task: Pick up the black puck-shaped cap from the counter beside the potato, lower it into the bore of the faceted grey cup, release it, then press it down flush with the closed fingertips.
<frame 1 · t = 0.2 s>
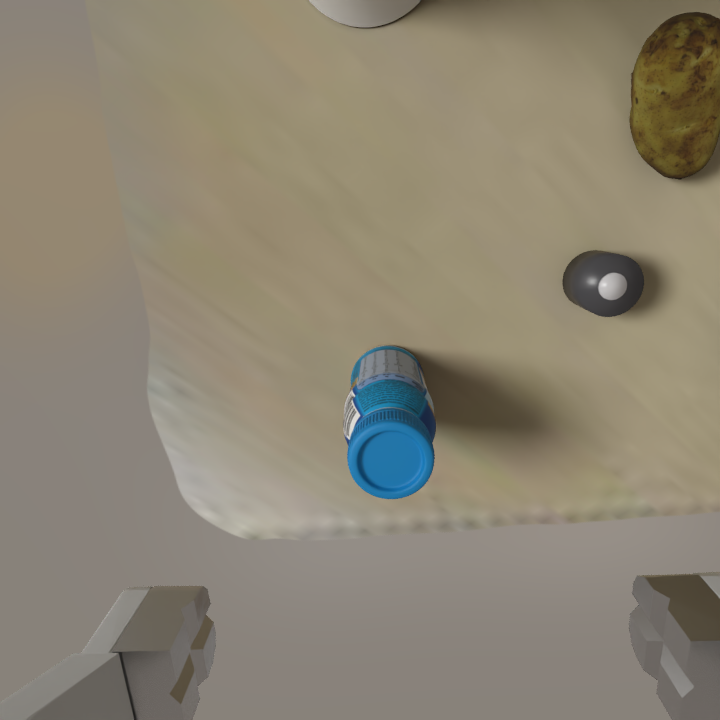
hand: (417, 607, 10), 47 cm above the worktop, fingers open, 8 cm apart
potato: (654, 110, 50), on the worktop
beverage bottle: (387, 378, 59), on the worktop
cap: (591, 279, 55), on the worktop
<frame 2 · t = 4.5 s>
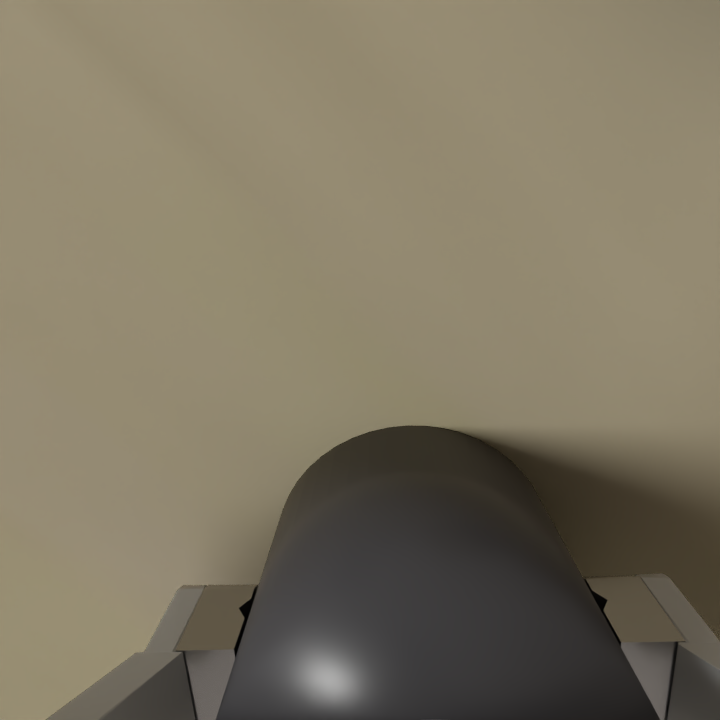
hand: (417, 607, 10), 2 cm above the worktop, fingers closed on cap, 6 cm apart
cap: (411, 550, 11), on the worktop, touching gripper
when the fingers open (6 cm above the worktop, at t = 9.0 s): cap drops 4 cm, resting on faceted grey cup.
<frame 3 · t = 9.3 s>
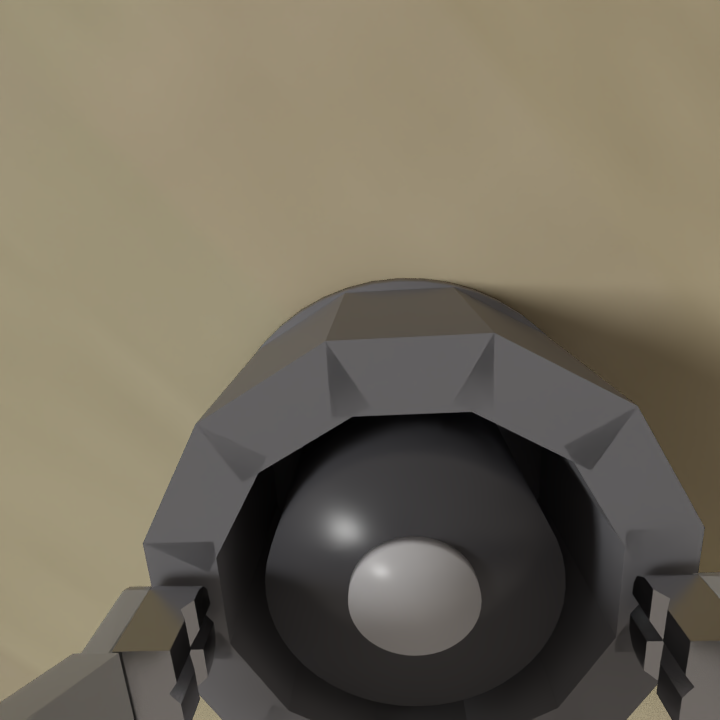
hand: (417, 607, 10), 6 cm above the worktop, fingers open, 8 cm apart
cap: (403, 469, 15), point 1 cm above the worktop, touching faceted grey cup
faceted grey cup: (404, 457, 16), on the worktop
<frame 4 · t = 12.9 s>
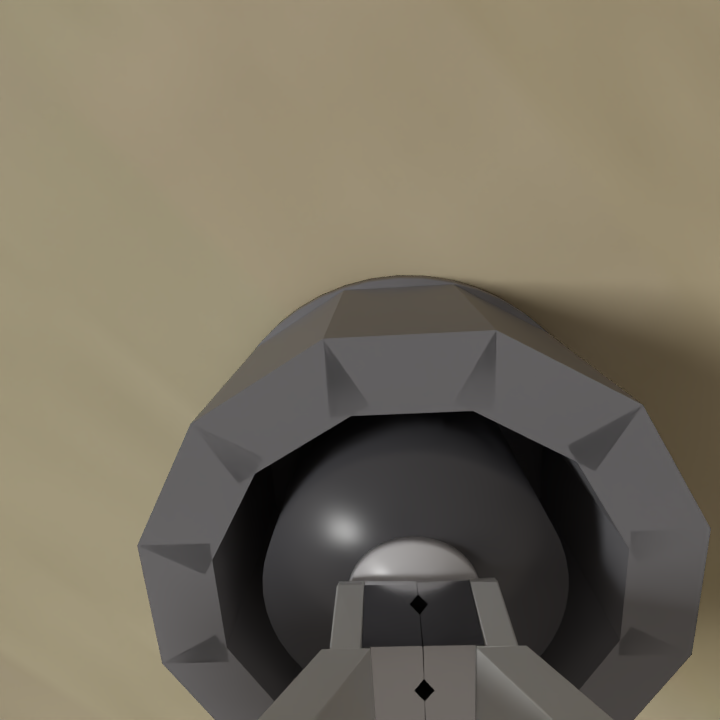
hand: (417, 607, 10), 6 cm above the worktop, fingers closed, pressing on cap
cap: (402, 469, 15), point 1 cm above the worktop, touching faceted grey cup, gripper
faceted grey cup: (404, 456, 16), on the worktop
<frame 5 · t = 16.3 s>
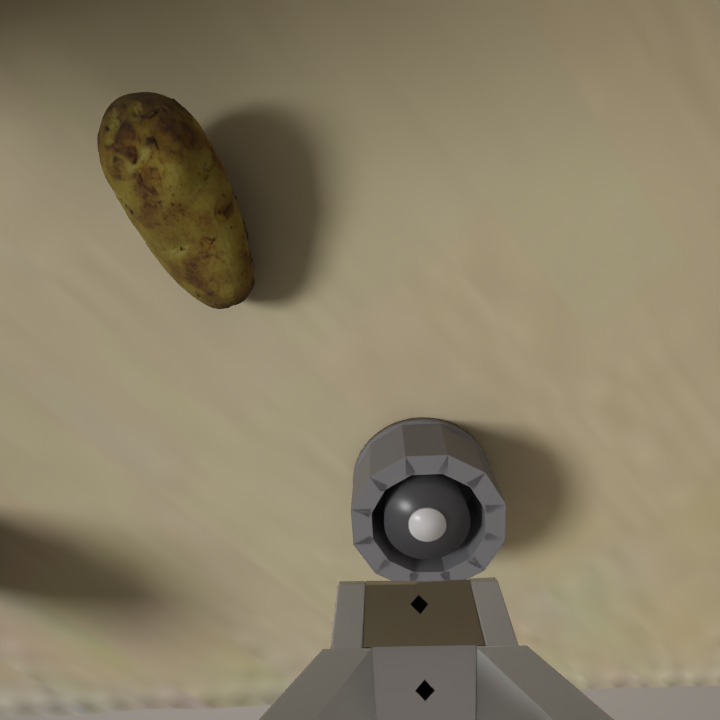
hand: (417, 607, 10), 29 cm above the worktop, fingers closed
potato: (202, 210, 36), on the worktop
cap: (421, 485, 41), point 1 cm above the worktop, touching faceted grey cup
faceted grey cup: (421, 480, 42), on the worktop
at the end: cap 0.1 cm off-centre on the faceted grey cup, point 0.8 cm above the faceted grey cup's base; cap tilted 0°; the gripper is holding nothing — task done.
